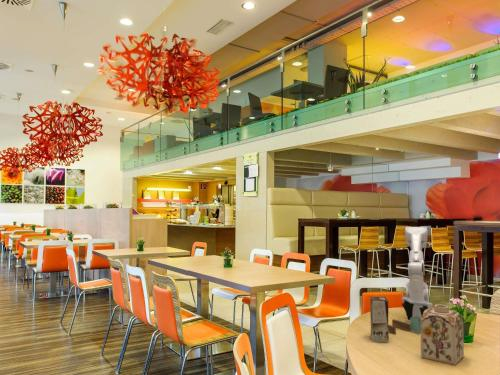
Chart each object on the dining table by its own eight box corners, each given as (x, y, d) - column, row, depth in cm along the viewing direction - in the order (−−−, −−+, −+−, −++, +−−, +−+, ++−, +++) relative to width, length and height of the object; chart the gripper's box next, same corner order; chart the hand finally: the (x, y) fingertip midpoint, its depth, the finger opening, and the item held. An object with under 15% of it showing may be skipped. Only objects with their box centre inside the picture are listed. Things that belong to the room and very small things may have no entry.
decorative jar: (430, 349, 159) (429, 300, 160) (464, 356, 152) (463, 305, 153) (420, 358, 150) (419, 306, 151) (455, 366, 143) (454, 311, 143)
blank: (410, 329, 185) (410, 317, 185) (418, 327, 187) (418, 316, 187) (418, 331, 181) (417, 319, 181) (426, 329, 183) (425, 318, 184)
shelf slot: (394, 326, 190) (394, 319, 191) (410, 331, 182) (410, 324, 183) (377, 329, 186) (377, 322, 186) (393, 334, 178) (393, 327, 178)
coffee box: (389, 342, 167) (388, 301, 168) (372, 341, 168) (371, 300, 169) (386, 336, 176) (386, 296, 176) (370, 335, 177) (370, 295, 178)
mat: (416, 327, 188) (416, 326, 188) (429, 331, 182) (429, 330, 182) (404, 329, 185) (404, 328, 185) (418, 333, 179) (418, 333, 179)
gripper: (396, 287, 189) (397, 318, 188) (424, 293, 176) (424, 327, 176) (408, 286, 192) (408, 316, 192) (435, 292, 180) (436, 324, 179)
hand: (417, 321), depth 184 cm, fingers open, 7 cm apart
